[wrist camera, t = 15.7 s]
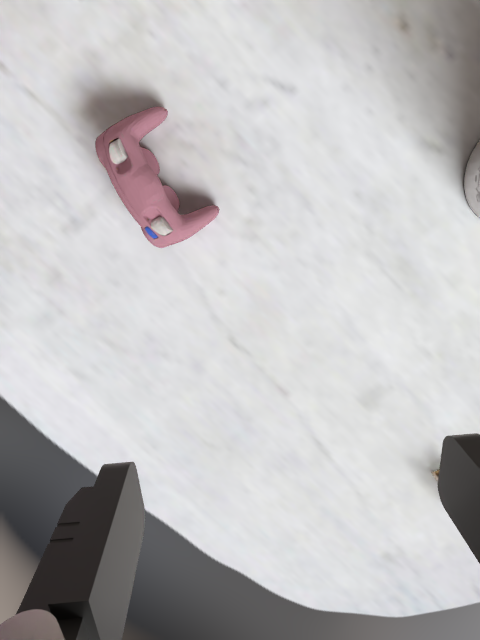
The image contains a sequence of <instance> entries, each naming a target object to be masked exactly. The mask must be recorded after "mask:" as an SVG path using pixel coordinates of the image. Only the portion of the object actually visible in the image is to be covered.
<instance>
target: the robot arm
mask: <svg viewBox="0 0 480 640" xmlns="http://www.w3.org/2000/svg"><path fill="white" fill-rule="evenodd" d="M464 189H465V194H466V199H467V201H468V203H469V206H470V208H471V209H472V210H473V212H474V213H475V214H476V215H477V216H478V217H479V218H480V140H479V142H478V143H477V145H476V147H475V148H474V150H473V151H472V153H471V156H470V158H469V161H468V163H467V167H466V171H465V176H464ZM438 491H439V496H440V499H441V502H442V504H443V506H444V508H445V510H446V512H447V513H448V515H449V516H450V518H451V519H452V521H453V523H454V524H455V526H456V527H457V529H458V530H459V532H460V533H461V535H462V537H463V538H464V540H465V541H466V543H467V544H468V546H469V548H470V549H471V551H472V552H473V554H474V555H475V557H476V559H477V560H478V562H479V563H480V435H479V434H464V435H452V436H446V437H445V439H444V441H443V447H442V454H441V462H440V469H439V477H438ZM144 529H145V509H144V503H143V498H142V494H141V489H140V484H139V479H138V474H137V469H136V466H135V463H134V462H125V463H113V464H104V465H103V466H102V467H101V470H100V472H99V475H98V477H97V480H96V482H95V485H94V487H83V488H81V489H80V490H79V491H78V492H77V493H76V494H75V495H74V497H73V498H72V499H71V500H70V501H69V502H68V503H67V504H66V506H65V508H64V510H63V513H62V515H61V517H60V519H59V521H58V526H57V527H56V528H55V530H54V532H53V534H52V537H51V539H50V544H48V546H47V548H46V550H45V552H44V554H43V557H42V559H41V561H40V563H39V565H38V568H37V570H36V572H35V574H34V576H33V579H32V581H31V583H30V585H29V587H28V590H27V592H26V594H25V596H24V599H23V601H22V603H21V605H20V607H19V609H18V611H17V613H16V615H14V616H12V617H11V618H9V619H7V620H6V621H4V622H3V623H2V624H0V640H122V635H123V630H124V626H125V621H126V616H127V611H128V607H129V602H130V597H131V592H132V588H133V583H134V578H135V573H136V568H137V564H138V559H139V554H140V550H141V545H142V540H143V535H144Z"/></svg>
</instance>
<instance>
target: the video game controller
mask: <svg viewBox="0 0 480 640" xmlns="http://www.w3.org/2000/svg"><path fill="white" fill-rule="evenodd" d="M167 114H168V111H167V109H165V108H163V107H153V108H149V109H147V110H144V111H142V112H139V113H136V114H134V115H131V116H129V117H126V118H124V119H123V120H121V121H120V122H118V123H116V124H115V125H113V126H111V127H110V128H108V129H107V130H106V131H104V132H103V133H102V134H101V135H100V136H98V137H97V139H96V144H95V146H96V152H97V155H98V158H99V160H100V161H101V163H102V164H103V166H104V167H105V168H106V170H107V172H108V175H109V177H110V179H111V181H112V184H113V186H114V187H115V189H116V191H117V193H118V195H119V197H120V198H121V200H122V202H123V203H124V205H125V206H126V208H127V209H128V211H129V212H130V213H131V215H132V216H133V217H134V219H135V220H136V221H137V222H138V224H139V225H140V226H141V228H142V231H143V233H144V235H145V237H146V238H147V239H148V241H150V242H151V243H152V244H153V245H154V246H156V247H159V248H164V247H167V246H169V245H172V244H175V243H178V242H181V241H183V240H185V239H188V238H189V237H191V236H193V235H194V234H195V233H197V232H198V231H199V230H201V229H202V228H203V227H205V226H206V225H207V224H209V223H210V222H211V221H212V220H214V219H215V217H216V216H217V215H218V213H219V208H218V206H215V205H212V206H207V207H204V208H201V209H199V210H196V211H194V212H191V213H188V214H184V215H180V214H178V209H179V204H180V203H179V199H178V196H177V195H176V193H175V192H174V191H173V189H172V188H171V187H169V186H167V185H164V186H162V184H161V181H160V179H159V178H158V176H157V175H158V174H159V171H160V169H159V164H158V161H157V159H156V157H155V156H154V154H153V153H152V152H150V151H149V150H147V149H145V148H142V147H140V145H139V141H140V140H141V139H142V138H143V137H144V136H145V135H146V134H147V133H149V132H150V131H152V130H153V129H154V128H156V127H157V126H158V125H160V124H161V123H162V122H163V121H164V120H165V118H166V117H167Z"/></svg>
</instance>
